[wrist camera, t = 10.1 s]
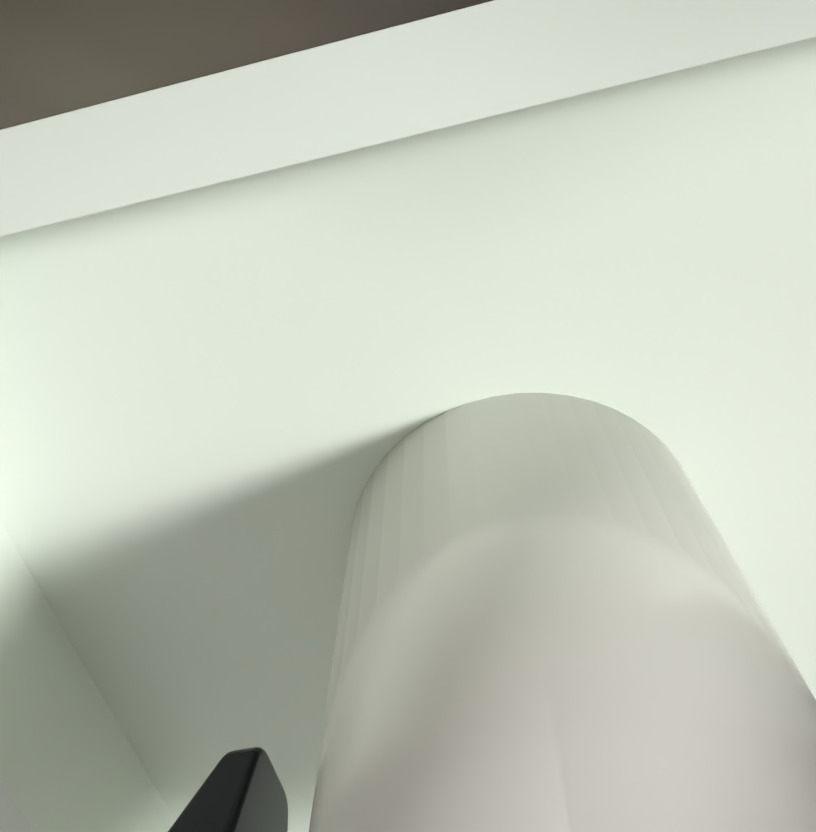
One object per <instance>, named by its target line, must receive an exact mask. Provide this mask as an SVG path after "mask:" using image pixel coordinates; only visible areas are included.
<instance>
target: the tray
mask: <svg viewBox="0 0 816 832" xmlns="http://www.w3.org/2000/svg"><path fill="white" fill-rule="evenodd" d="M515 393H551V394H561V395H569V396H573V397H578V398H582V399H587V400H591V401H594V402H597V403H600V404H602V405H605V406H608V407H611V408H613V409H615V410H617V411H619V412H621V413H623V414H625V415H627V416H629V417H631V418H633V419H634V420H636V421H637V422H639V423H640V424H641V425H643V426H644V427H646V428H647V429H648V430H650V431H651V432H652V433H653V434H655V435H656V436H657V437H658V438H659V439H660V440H661V441H662V442H663V443H664V444H665V445H666V446H667V447H668V448H669V450H670V451H671V452H672V454H673V455H674V456H675V458H676V459H677V460H678V462H679V463H680V465H681V466H682V468H683V470H684V472H685V473H686V475H687V477H688V479H689V480H690V482H691V484H692V485H693V487H694V489H695V491H696V492H697V494H698V496H699V498H700V499H701V501H702V503H703V505H704V506H705V508H706V510H707V512H708V513H709V515H710V517H711V519H712V520H713V522H714V524H715V525H716V527H717V529H718V531H719V532H720V534H721V536H722V538H723V539H724V541H725V543H726V545H727V546H728V548H729V550H730V552H731V553H732V555H733V557H734V558H735V560H736V562H737V564H738V565H739V567H740V569H741V571H742V572H743V574H744V576H745V578H746V579H747V581H748V583H749V585H750V586H751V588H752V590H753V591H754V593H755V595H756V597H757V598H758V600H759V602H760V604H761V605H762V607H763V609H764V611H765V612H766V614H767V616H768V618H769V619H770V621H771V623H772V625H773V626H774V628H775V630H776V631H777V633H778V635H779V637H780V638H781V640H782V642H783V644H784V645H785V647H786V649H787V651H788V652H789V654H790V656H791V658H792V659H793V661H794V663H795V664H796V666H797V668H798V670H799V671H800V673H801V675H802V677H803V678H804V680H805V682H806V684H807V685H808V687H809V689H810V691H811V692H812V694H813V696H814V697H815V699H816V0H492V1H488V2H485V3H481V4H477V5H473V6H469V7H466V8H462V9H458V10H454V11H450V12H447V13H443V14H439V15H435V16H431V17H428V18H424V19H420V20H416V21H412V22H409V23H405V24H401V25H397V26H393V27H389V28H386V29H382V30H378V31H374V32H370V33H367V34H363V35H359V36H355V37H351V38H348V39H344V40H340V41H336V42H332V43H329V44H325V45H321V46H317V47H313V48H310V49H306V50H302V51H298V52H294V53H291V54H287V55H283V56H279V57H275V58H272V59H268V60H264V61H260V62H256V63H252V64H249V65H245V66H241V67H237V68H233V69H230V70H226V71H222V72H218V73H214V74H211V75H207V76H203V77H199V78H195V79H192V80H188V81H184V82H180V83H176V84H173V85H169V86H165V87H161V88H157V89H154V90H150V91H146V92H142V93H138V94H135V95H131V96H127V97H123V98H119V99H115V100H112V101H108V102H104V103H100V104H96V105H93V106H89V107H85V108H81V109H77V110H74V111H70V112H66V113H62V114H58V115H55V116H51V117H47V118H43V119H39V120H36V121H32V122H28V123H24V124H20V125H17V126H13V127H9V128H5V129H1V130H0V832H168V831H169V829H170V828H171V826H172V825H173V824H174V822H175V821H176V820H177V818H178V817H179V816H180V814H181V813H182V811H183V810H184V809H185V807H186V806H187V805H188V803H189V802H190V801H191V799H192V798H193V796H194V795H195V794H196V792H197V791H198V790H199V788H200V787H201V786H202V784H203V783H204V782H205V780H206V779H207V777H208V776H209V775H210V773H211V772H212V771H213V769H214V768H215V767H216V765H217V764H218V762H219V761H220V760H221V759H222V757H223V756H224V755H226V754H227V753H228V752H230V751H234V750H240V749H246V748H253V747H260V748H262V749H264V750H265V751H266V753H267V755H268V756H269V759H270V761H271V763H272V765H273V767H274V769H275V771H276V774H277V776H278V778H279V780H280V782H281V784H282V786H283V788H284V791H285V794H286V797H287V803H288V832H309V825H310V818H311V811H312V804H313V797H314V790H315V783H316V776H317V769H318V762H319V754H320V747H321V740H322V733H323V726H324V719H325V712H326V705H327V698H328V691H329V684H330V676H331V669H332V662H333V655H334V648H335V641H336V634H337V627H338V620H339V613H340V605H341V598H342V591H343V584H344V577H345V570H346V563H347V556H348V549H349V542H350V534H351V527H352V521H353V517H354V513H355V509H356V505H357V502H358V500H359V497H360V495H361V493H362V490H363V488H364V486H365V484H366V482H367V481H368V479H369V477H370V476H371V474H372V472H373V471H374V469H375V468H376V467H377V465H378V464H379V463H380V462H381V460H382V459H383V458H384V457H385V456H386V454H387V453H388V452H389V451H390V450H391V449H392V448H393V447H394V446H395V445H396V444H398V443H399V442H400V441H401V440H402V439H403V438H404V437H405V436H407V435H408V434H409V433H411V432H412V431H414V430H415V429H416V428H418V427H419V426H421V425H422V424H423V423H425V422H427V421H429V420H431V419H433V418H435V417H436V416H438V415H440V414H442V413H444V412H446V411H449V410H451V409H454V408H456V407H459V406H461V405H464V404H466V403H470V402H473V401H477V400H481V399H485V398H489V397H493V396H500V395H508V394H515Z"/></svg>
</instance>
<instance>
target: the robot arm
mask: <svg viewBox="0 0 816 832" xmlns="http://www.w3.org/2000/svg"><path fill="white" fill-rule="evenodd" d="M168 832H288V803H287V797H286V794H285V791H284V788H283V786H282V784H281V782H280V780H279V778H278V776H277V774H276V771H275V769H274V767H273V765H272V763H271V761H270V759H269V756H268V755H267V753H266V751H265V750H264V749H262V748H260V747H253V748H246V749H240V750H234V751H230V752H228V753H227V754H226V755H224V756H223V757H222V759H221V760H220V761H219V762H218V764H217V765H216V767H215V768H214V769H213V771H212V772H211V773H210V775H209V776H208V777H207V779H206V780H205V782H204V783H203V784H202V786H201V787H200V788H199V790H198V791H197V792H196V794H195V795H194V796H193V798H192V799H191V801H190V802H189V803H188V805H187V806H186V807H185V809H184V810H183V811H182V813H181V814H180V816H179V817H178V818H177V820H176V821H175V822H174V824H173V825H172V826H171V828H170V829H169V831H168Z"/></svg>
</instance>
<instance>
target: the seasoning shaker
mask: <svg viewBox="0 0 816 832" xmlns="http://www.w3.org/2000/svg"><path fill="white" fill-rule="evenodd" d="M309 832H816V699H815V697H814V696H813V694H812V692H811V691H810V689H809V687H808V685H807V684H806V682H805V680H804V678H803V677H802V675H801V673H800V671H799V670H798V668H797V666H796V664H795V663H794V661H793V659H792V658H791V656H790V654H789V652H788V651H787V649H786V647H785V645H784V644H783V642H782V640H781V638H780V637H779V635H778V633H777V631H776V630H775V628H774V626H773V625H772V623H771V621H770V619H769V618H768V616H767V614H766V612H765V611H764V609H763V607H762V605H761V604H760V602H759V600H758V598H757V597H756V595H755V593H754V591H753V590H752V588H751V586H750V585H749V583H748V581H747V579H746V578H745V576H744V574H743V572H742V571H741V569H740V567H739V565H738V564H737V562H736V560H735V558H734V557H733V555H732V553H731V552H730V550H729V548H728V546H727V545H726V543H725V541H724V539H723V538H722V536H721V534H720V532H719V531H718V529H717V527H716V525H715V524H714V522H713V520H712V519H711V517H710V515H709V513H708V512H707V510H706V508H705V506H704V505H703V503H702V501H701V499H700V498H699V496H698V494H697V492H696V491H695V489H694V487H693V485H692V484H691V482H690V480H689V479H688V477H687V475H686V473H685V472H684V470H683V468H682V466H681V465H680V463H679V462H678V460H677V459H676V458H675V456H674V455H673V454H672V452H671V451H670V450H669V448H668V447H667V446H666V445H665V444H664V443H663V442H662V441H661V440H660V439H659V438H658V437H657V436H656V435H655V434H653V433H652V432H651V431H650V430H648V429H647V428H646V427H644V426H643V425H641V424H640V423H639V422H637V421H636V420H634V419H633V418H631V417H629V416H627V415H625V414H623V413H621V412H619V411H617V410H615V409H613V408H611V407H608V406H605V405H602V404H600V403H597V402H594V401H591V400H587V399H582V398H578V397H573V396H569V395H561V394H551V393H515V394H508V395H500V396H493V397H489V398H485V399H481V400H477V401H473V402H470V403H466V404H464V405H461V406H459V407H456V408H454V409H451V410H449V411H446V412H444V413H442V414H440V415H438V416H436V417H435V418H433V419H431V420H429V421H427V422H425V423H423V424H422V425H421V426H419V427H418V428H416V429H415V430H414V431H412V432H411V433H409V434H408V435H407V436H405V437H404V438H403V439H402V440H401V441H400V442H399V443H398V444H396V445H395V446H394V447H393V448H392V449H391V450H390V451H389V452H388V453H387V454H386V456H385V457H384V458H383V459H382V460H381V462H380V463H379V464H378V465H377V467H376V468H375V469H374V471H373V472H372V474H371V476H370V477H369V479H368V481H367V482H366V484H365V486H364V488H363V490H362V493H361V495H360V497H359V500H358V502H357V505H356V509H355V513H354V517H353V521H352V527H351V534H350V542H349V549H348V556H347V563H346V570H345V577H344V584H343V591H342V598H341V605H340V613H339V620H338V627H337V634H336V641H335V648H334V655H333V662H332V669H331V676H330V684H329V691H328V698H327V705H326V712H325V719H324V726H323V733H322V740H321V747H320V754H319V762H318V769H317V776H316V783H315V790H314V797H313V804H312V811H311V818H310V825H309Z"/></svg>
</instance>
